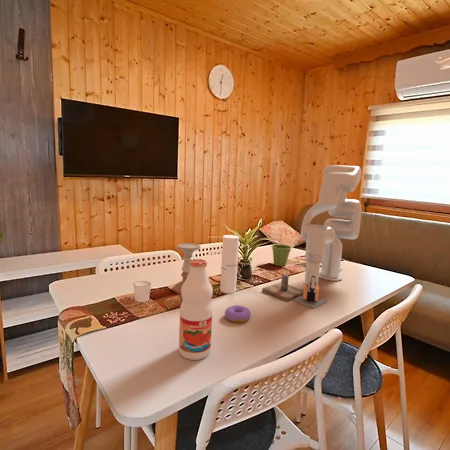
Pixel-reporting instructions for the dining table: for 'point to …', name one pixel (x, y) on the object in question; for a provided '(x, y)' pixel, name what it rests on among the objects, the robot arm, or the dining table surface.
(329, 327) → the dining table surface
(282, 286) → the post stand
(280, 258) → the plant pot
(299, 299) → the rubber pad
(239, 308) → the donut
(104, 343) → the dining table surface
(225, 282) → the cylindrical container
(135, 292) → the shot glass
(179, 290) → the candle holder
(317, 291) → the orange bevelled cube
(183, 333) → the fruit juice
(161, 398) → the dining table surface
